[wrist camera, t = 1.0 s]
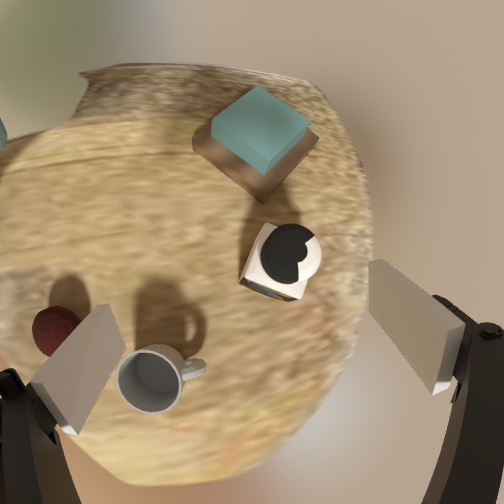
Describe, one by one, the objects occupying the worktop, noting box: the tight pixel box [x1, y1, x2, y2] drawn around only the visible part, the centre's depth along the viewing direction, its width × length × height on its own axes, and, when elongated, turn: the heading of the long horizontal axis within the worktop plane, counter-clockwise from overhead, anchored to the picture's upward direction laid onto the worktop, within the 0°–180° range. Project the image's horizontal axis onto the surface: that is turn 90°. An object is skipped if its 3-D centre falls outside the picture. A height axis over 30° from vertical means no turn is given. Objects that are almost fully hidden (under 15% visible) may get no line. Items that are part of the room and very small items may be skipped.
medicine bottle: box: [239, 223, 321, 302], centre depth 34 cm, size 7×7×12 cm
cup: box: [116, 344, 207, 414], centre depth 31 cm, size 7×10×9 cm
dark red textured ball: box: [32, 306, 81, 357], centre depth 30 cm, size 7×8×7 cm
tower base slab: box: [192, 121, 319, 204], centre depth 43 cm, size 14×14×4 cm
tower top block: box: [211, 86, 310, 175], centre depth 39 cm, size 10×10×4 cm
